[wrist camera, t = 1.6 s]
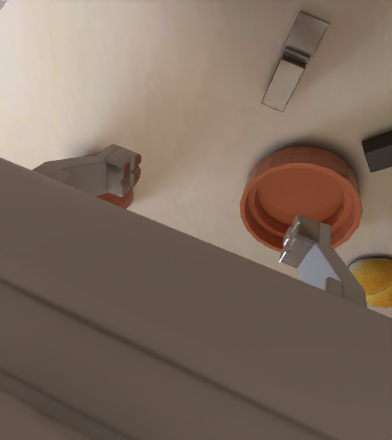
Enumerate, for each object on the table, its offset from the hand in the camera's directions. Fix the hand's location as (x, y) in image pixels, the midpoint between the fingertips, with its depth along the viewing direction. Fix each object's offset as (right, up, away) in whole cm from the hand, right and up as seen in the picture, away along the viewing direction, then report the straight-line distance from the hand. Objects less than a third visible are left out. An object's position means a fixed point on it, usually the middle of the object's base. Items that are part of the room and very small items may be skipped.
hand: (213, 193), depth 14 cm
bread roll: (+27, -10, +29) cm, 41 cm away
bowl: (+13, +2, +25) cm, 28 cm away
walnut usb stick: (+9, +15, +15) cm, 24 cm away
